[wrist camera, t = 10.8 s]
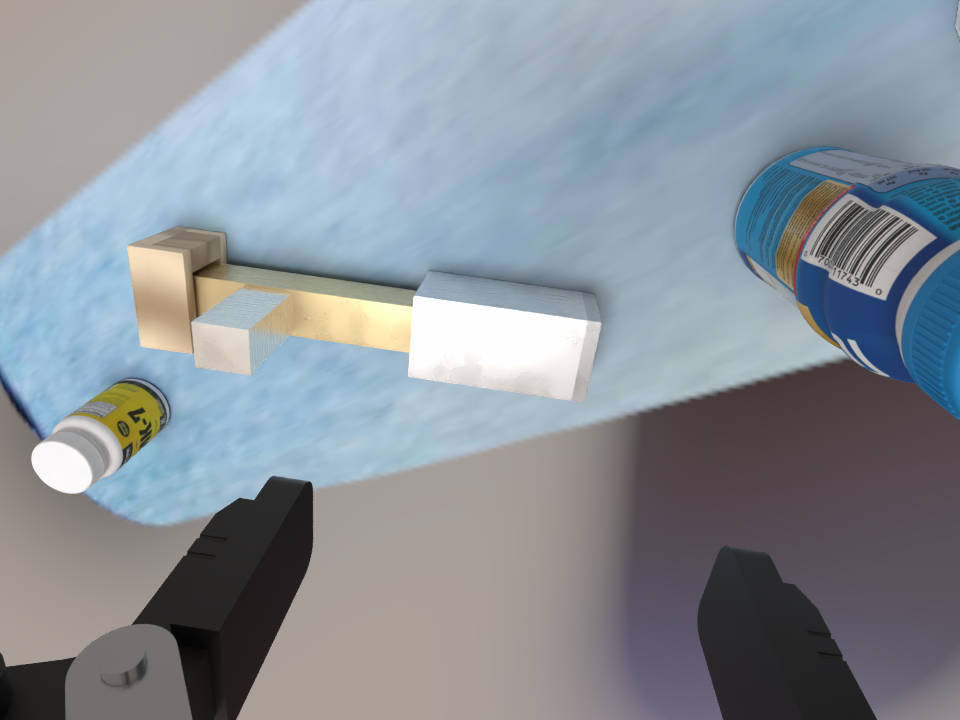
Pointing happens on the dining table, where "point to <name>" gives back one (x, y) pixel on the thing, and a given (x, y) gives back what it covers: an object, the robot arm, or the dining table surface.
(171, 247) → the socket
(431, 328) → the white plaster block
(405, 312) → the tan piece
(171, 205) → the dining table surface
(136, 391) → the supplement bottle
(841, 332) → the beverage bottle
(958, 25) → the foam cup
